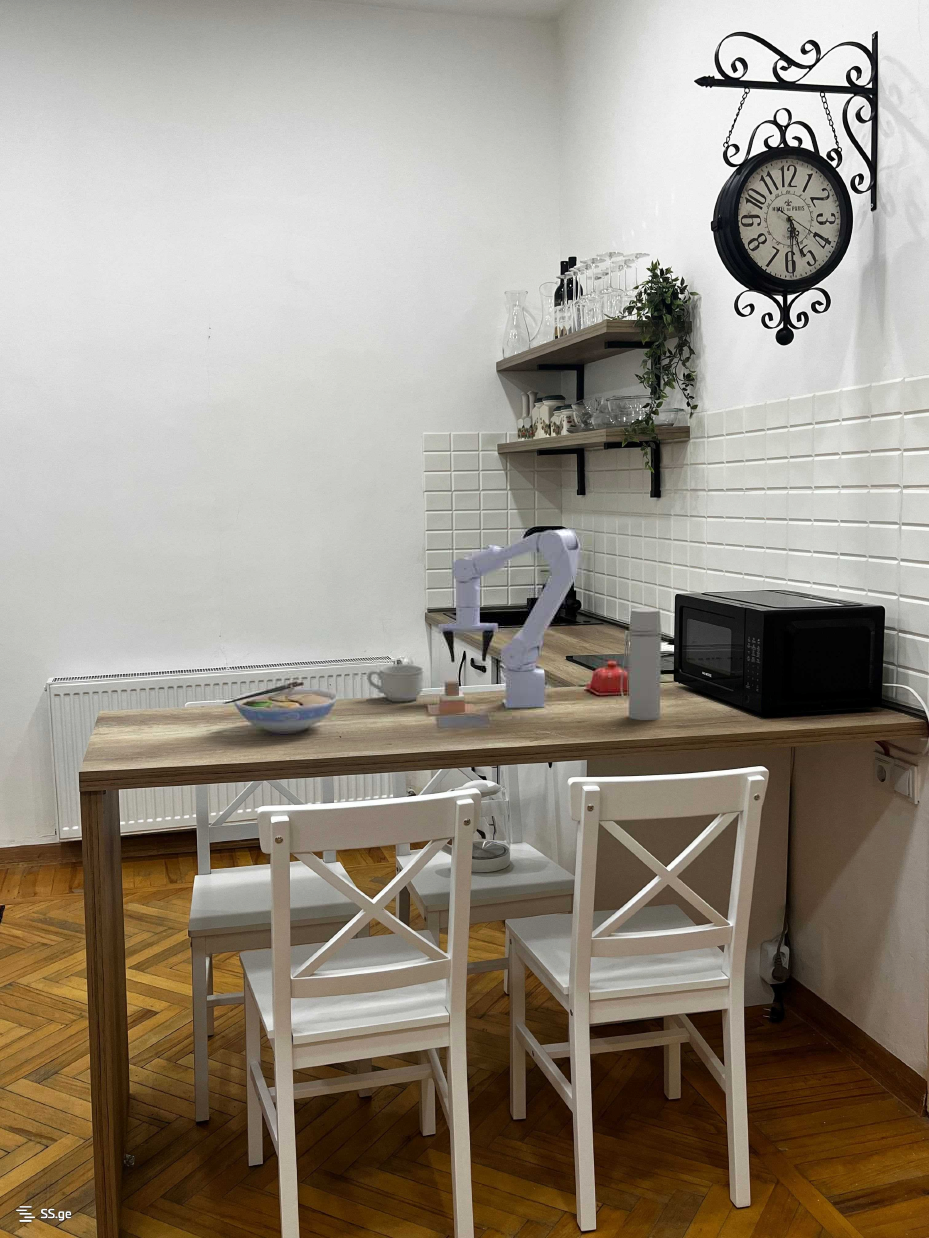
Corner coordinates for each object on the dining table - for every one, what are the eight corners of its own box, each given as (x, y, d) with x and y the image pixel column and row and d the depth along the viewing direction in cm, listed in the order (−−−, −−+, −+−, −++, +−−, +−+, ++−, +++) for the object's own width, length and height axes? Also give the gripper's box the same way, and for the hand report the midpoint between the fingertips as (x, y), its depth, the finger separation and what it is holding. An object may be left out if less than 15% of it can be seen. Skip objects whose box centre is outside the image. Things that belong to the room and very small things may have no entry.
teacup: (426, 695, 273) (425, 664, 272) (420, 704, 262) (420, 671, 261) (372, 694, 274) (371, 664, 273) (364, 703, 264) (363, 671, 263)
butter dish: (641, 697, 269) (641, 663, 268) (597, 699, 267) (597, 665, 266) (624, 688, 280) (625, 656, 279) (582, 691, 278) (582, 658, 277)
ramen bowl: (288, 748, 218) (287, 709, 217) (207, 735, 230) (206, 698, 229) (363, 725, 239) (362, 689, 238) (285, 714, 251) (284, 680, 250)
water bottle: (664, 717, 244) (666, 608, 241) (655, 724, 237) (657, 612, 234) (625, 714, 248) (626, 607, 245) (615, 721, 241) (616, 610, 238)
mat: (487, 716, 247) (487, 714, 247) (492, 728, 235) (492, 726, 235) (435, 717, 246) (435, 716, 246) (438, 729, 234) (438, 727, 234)
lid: (461, 695, 254) (461, 679, 254) (464, 699, 249) (464, 683, 249) (439, 696, 253) (439, 680, 253) (442, 700, 248) (442, 684, 248)
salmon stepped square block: (472, 705, 259) (472, 691, 259) (476, 715, 248) (476, 700, 248) (427, 706, 258) (427, 692, 258) (429, 716, 248) (428, 701, 247)
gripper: (495, 604, 267) (495, 657, 269) (437, 605, 266) (438, 659, 268) (498, 607, 260) (498, 662, 262) (438, 608, 259) (439, 663, 261)
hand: (468, 661), depth 264 cm, fingers open, 7 cm apart
